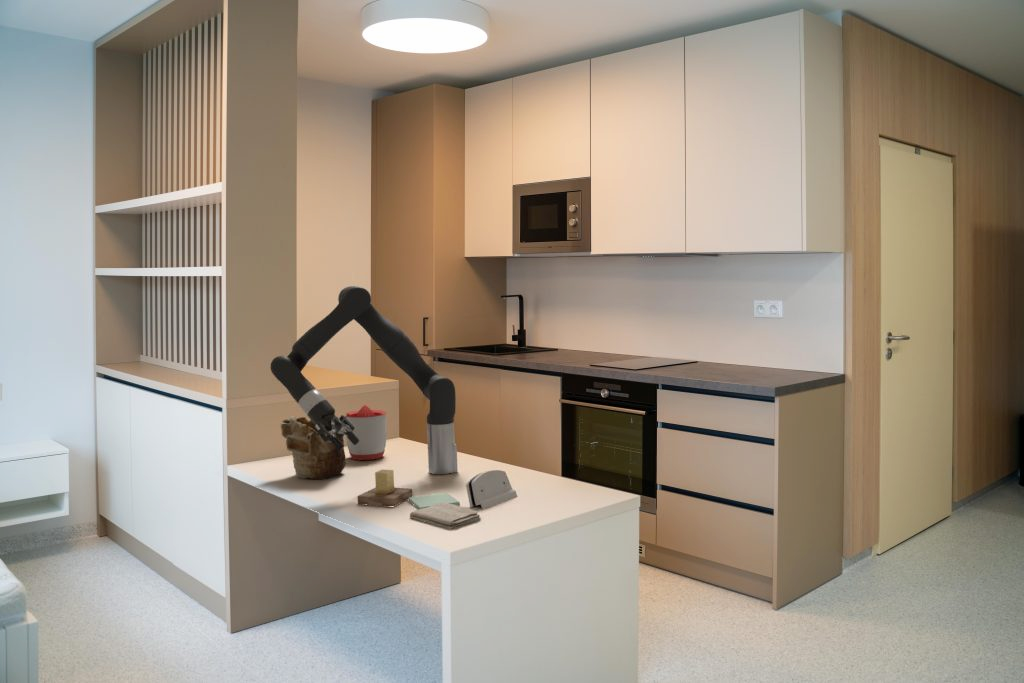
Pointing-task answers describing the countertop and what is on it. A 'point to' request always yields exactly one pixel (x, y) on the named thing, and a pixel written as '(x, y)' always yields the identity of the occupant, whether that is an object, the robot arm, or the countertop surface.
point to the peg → (384, 482)
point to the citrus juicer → (367, 433)
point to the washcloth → (446, 515)
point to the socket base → (385, 497)
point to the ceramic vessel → (312, 450)
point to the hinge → (489, 489)
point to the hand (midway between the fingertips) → (349, 445)
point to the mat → (432, 500)
